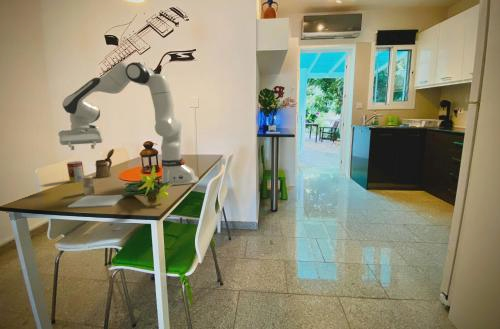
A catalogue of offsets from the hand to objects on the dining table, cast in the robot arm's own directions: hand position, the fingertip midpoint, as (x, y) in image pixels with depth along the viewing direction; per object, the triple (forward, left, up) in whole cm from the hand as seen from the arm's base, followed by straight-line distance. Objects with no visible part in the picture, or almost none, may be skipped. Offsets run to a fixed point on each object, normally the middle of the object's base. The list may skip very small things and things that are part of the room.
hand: (83, 148), depth 138 cm
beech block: (-6, +11, -23) cm, 26 cm away
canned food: (+17, -17, -23) cm, 33 cm away
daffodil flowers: (-40, +28, -23) cm, 54 cm away
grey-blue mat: (-18, +25, -23) cm, 38 cm away
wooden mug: (+4, -28, -23) cm, 37 cm away
